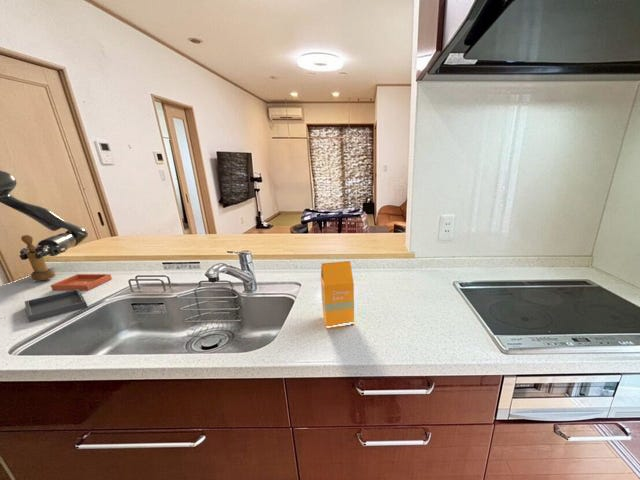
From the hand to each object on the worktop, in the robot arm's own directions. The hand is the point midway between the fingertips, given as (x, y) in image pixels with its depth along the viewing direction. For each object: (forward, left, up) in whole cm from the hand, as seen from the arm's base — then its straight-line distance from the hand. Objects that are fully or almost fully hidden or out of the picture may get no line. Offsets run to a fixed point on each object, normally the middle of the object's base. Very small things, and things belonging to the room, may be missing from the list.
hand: (29, 256), depth 116 cm
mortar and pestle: (-2, +2, -10) cm, 11 cm away
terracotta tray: (+18, +3, -11) cm, 22 cm away
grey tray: (+31, -13, -11) cm, 36 cm away
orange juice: (+127, +4, -11) cm, 128 cm away
